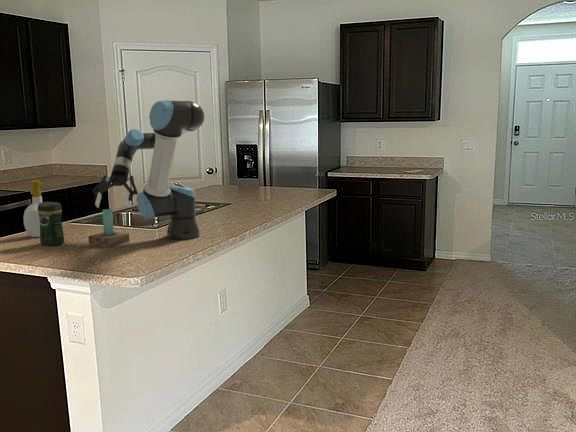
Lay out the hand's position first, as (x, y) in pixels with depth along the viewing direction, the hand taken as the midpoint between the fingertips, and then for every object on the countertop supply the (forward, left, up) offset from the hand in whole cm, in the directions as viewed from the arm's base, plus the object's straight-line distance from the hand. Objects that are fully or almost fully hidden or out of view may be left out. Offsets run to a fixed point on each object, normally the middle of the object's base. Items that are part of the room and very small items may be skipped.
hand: (111, 206), depth 251 cm
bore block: (-3, +6, -16) cm, 17 cm away
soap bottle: (+38, +6, -16) cm, 42 cm away
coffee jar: (+20, +16, -16) cm, 30 cm away
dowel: (-3, +6, -15) cm, 16 cm away
